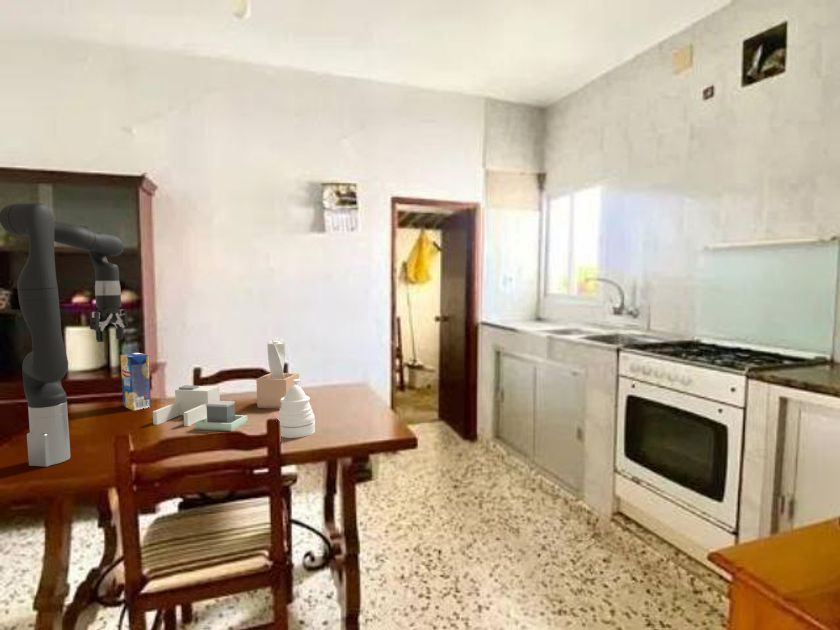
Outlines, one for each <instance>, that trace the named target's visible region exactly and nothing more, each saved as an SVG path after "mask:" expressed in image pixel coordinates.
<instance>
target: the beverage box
mask: <svg viewBox="0 0 840 630" xmlns="http://www.w3.org/2000/svg"><path fill="white" fill-rule="evenodd" d="M149 363H150V362H149V354H145V353H140V352H132V353H123V354H120V370H121V372H120V373H121V388H122V391H121V392H122V405H123V407H125V408H127V409H129V410H131V411H138V410H142V409H143V408H144V409H148V407H149V408H152V405H151V404H152V402H151V385H150V384H151V383H150V367H149V366H150V364H149Z"/></svg>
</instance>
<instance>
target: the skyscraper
mask: <svg viewBox="0 0 840 630" xmlns="http://www.w3.org/2000/svg"><path fill="white" fill-rule="evenodd" d="M280 341H282V342H280ZM267 360H268V366H269V367H268V368H269V372H270V373H271V376H270V379H284V373H285V372H284V367H285V363H286V361H285V360H286V342H285V340H284V339H282V338H280V337H279V338H278V337H277V338H276V337H275V338H272V339H271V340H270V341H267ZM286 373H287V377H289V376H288V373H289V372H288V371H287V372H286Z"/></svg>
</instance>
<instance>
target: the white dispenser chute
mask: <svg viewBox="0 0 840 630" xmlns="http://www.w3.org/2000/svg"><path fill="white" fill-rule="evenodd" d="M174 394H175V395H174V396H175V398H174V399H175V402H174V403H170V404H168V405H166V406H162V407H161V408H158V409H156V410H153V411H152V420H153V421H152V422H153V424H152V425H153V426H158V425H160V424H162V423H165V422H168V421H169V420H172V419H174V418H176V417H179V416H183V425H184V427H189V426H192V425H193V424H194V425H195V422H197V421H199V420H201V419H204V418H206V417H207V406H206V404H207V403H210V402H212V401H214V400H216V401H221V398H220V396H221V395H220V386H212V385H211V386H209V385H206V386H205V385H182V386H179V387H178V388H177V389H175V390H174Z"/></svg>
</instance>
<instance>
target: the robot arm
mask: <svg viewBox="0 0 840 630" xmlns="http://www.w3.org/2000/svg"><path fill="white" fill-rule="evenodd" d="M0 225H1V227H2V229H3V230H4V231H6V232H7V233H8V234H10V235H14V236H15V237H16V236H17V237H26V238H27V237H28V241H29V252H28V256H27V259H26V262H25V264H24V266H23V268H22V270H21V272H20V274H19V276H18V278H17V279H18V280H17V283H16V284H17V285H16V286H17V288H16V289H17V295H18V296H17V297H18V303H19V308H20V311H21V314H22V317H23V319H24V321H25V323H26V325H27V328H28V330H29V333H30V336H31V343H32V346H31V347H32V351H30V352H29V353H28V354H27V355H25V357H24V359H23V361H22V365H21V367H22V368H21V369H22V370H21V372H22V373H21V374H22V382H23V392H24V395H25V399H26V401H27V409H28V422H29V423H28V425H29V432H28V433H26V443H27V456H28V466H31V467H33V466H34V467H50V466H53V465H57V464H61V463H63V462H66V461H68V460H70V458H71V446H70V445H71V444H70V443H71V442H70V429H69V416H68V414H69V412H68V401H67V392H66V391H65V389H64V388H63V385H62V381H61V380H62V379H63V378H64V377H65V375H66V374H67V373H68V369H69V361H68V357H67V353H66V347H65V343H64V339H63V333H62V324H61V323H62V322H61V321H62V320H61V312H60V297H59V288H58V282H57V272H56V261H55V259H56V258H55V243H59V244H61V245H62V244H63V245H65V246H69V247H73V248H76V249H79V250H82V251H87V252H88V255H89V256H90V259H91V262H92V265H93V268H94V277H95V279H94V280H95V282H94V283H95V285H94V290H95V291H94V293H95V295H94V296H95V307H96V308H97V311H90V312H89V330H92V331H95V338H96V339H95V340H96V342H98V343H103V342H105V331H104V329H105V328H106V326H108V325H109V324H112V325H114V326H115V337H116V338H115V339H116V340H123V339H124V328H125V327H128V326H129V318H128V311H127V309H120V308H121V307H122V298H121V297H122V293H121V289H122V288H121V283H120V271H119V266H118V265H117V264H115V263H111V262H109V261H108V259H107V257H117V256H120V255H121V254H122V253H123V251H124V249H125V248H124V243H123V241H122V240H121V239H120V238H119V237H118V236H116V235H113V234H109V233H104V232H99V231H96V230H95V231H94V230H92V229H89V228H87V227H85V226H84V227H83V226H81V225H77V224H73V223H67V222H62V221H55V220H54V216H53V212H52V211H51V208H49V207H48V205H46V204H44V203H42V202H23V203H22V202H20V203H19V202H18V203H17V202H16V203H12V204H11V203H10V204H8V205H5V206H4V207H2V208H1V210H0Z"/></svg>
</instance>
